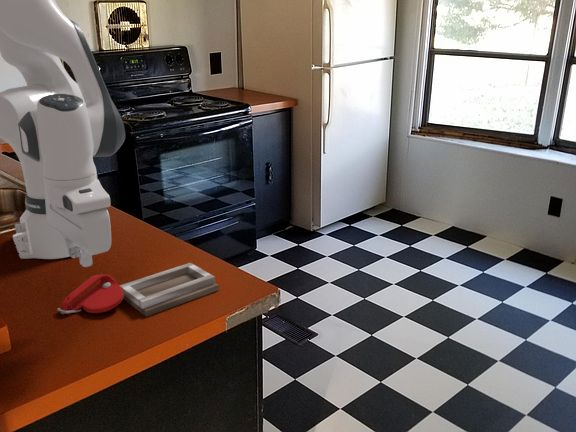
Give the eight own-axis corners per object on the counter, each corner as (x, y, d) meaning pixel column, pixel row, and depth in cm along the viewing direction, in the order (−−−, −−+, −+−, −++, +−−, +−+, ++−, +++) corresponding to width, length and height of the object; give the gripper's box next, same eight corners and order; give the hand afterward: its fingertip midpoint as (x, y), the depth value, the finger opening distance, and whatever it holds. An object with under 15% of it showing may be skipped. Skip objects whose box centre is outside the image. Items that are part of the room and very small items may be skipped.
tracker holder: (120, 316, 115) (130, 286, 124) (114, 298, 113) (125, 268, 122) (57, 323, 116) (72, 292, 125) (51, 304, 114) (66, 274, 122)
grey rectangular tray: (117, 295, 124) (116, 283, 123) (188, 271, 135) (187, 260, 134) (146, 316, 116) (145, 304, 115) (218, 290, 126) (218, 278, 125)
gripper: (32, 179, 111) (42, 247, 116) (78, 207, 97) (87, 284, 101) (65, 173, 115) (74, 239, 120) (114, 199, 101) (121, 274, 105)
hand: (80, 260), depth 110 cm, fingers open, 4 cm apart
